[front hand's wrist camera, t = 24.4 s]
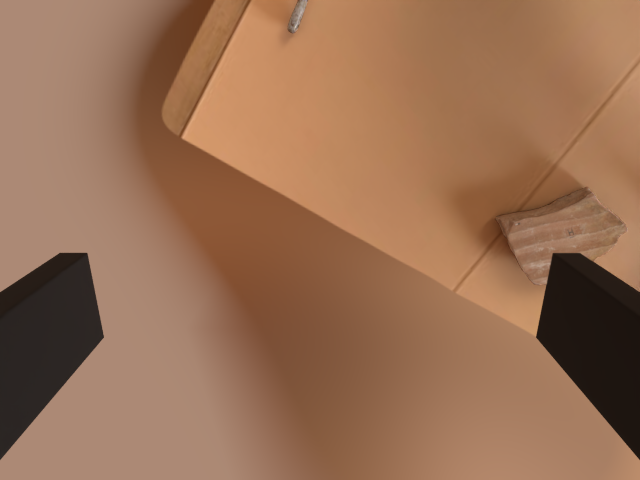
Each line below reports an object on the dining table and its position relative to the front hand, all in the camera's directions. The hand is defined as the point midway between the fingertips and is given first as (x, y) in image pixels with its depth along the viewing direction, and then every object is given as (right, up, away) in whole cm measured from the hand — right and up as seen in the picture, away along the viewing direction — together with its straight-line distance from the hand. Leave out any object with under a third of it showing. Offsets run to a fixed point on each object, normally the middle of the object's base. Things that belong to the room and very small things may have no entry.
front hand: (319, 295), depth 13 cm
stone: (+29, +3, +42) cm, 51 cm away
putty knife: (-2, +27, +33) cm, 43 cm away
